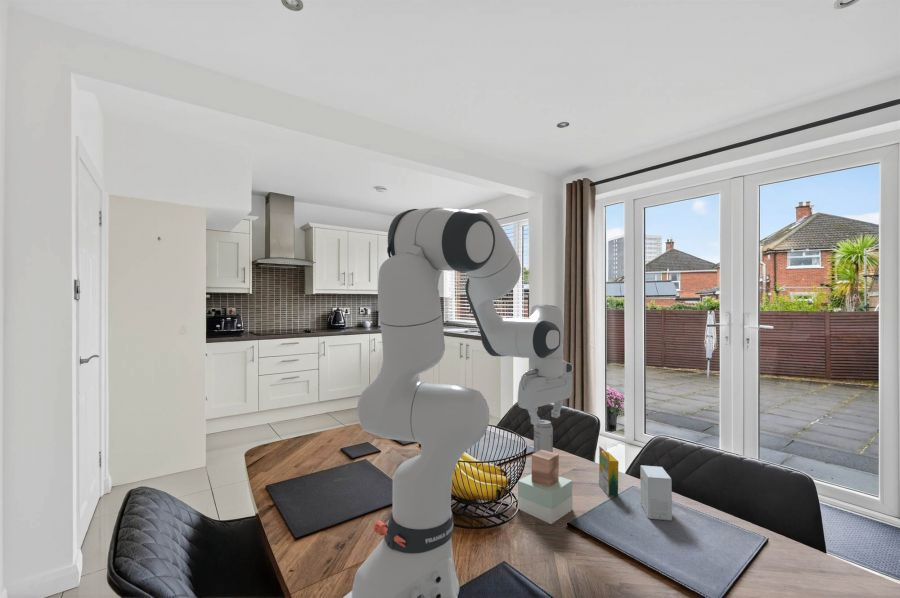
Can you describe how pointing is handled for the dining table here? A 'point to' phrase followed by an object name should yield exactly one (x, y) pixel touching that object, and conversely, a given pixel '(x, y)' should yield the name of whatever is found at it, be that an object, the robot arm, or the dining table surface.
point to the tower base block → (545, 509)
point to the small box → (656, 492)
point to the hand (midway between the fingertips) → (545, 420)
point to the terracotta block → (545, 468)
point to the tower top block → (545, 492)
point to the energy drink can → (543, 436)
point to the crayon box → (608, 473)
